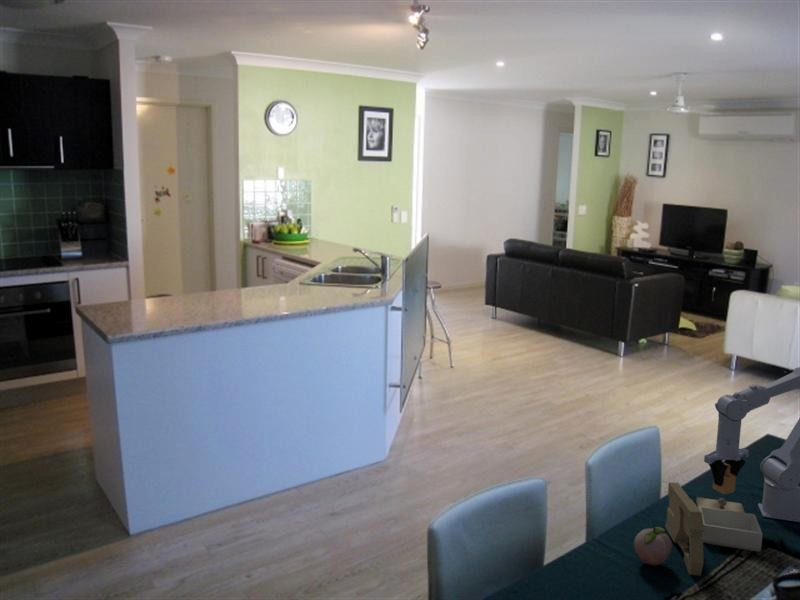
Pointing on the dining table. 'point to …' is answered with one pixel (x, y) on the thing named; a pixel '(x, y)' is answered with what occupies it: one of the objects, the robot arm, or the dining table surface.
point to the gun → (685, 527)
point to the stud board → (715, 505)
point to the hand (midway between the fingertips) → (724, 483)
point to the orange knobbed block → (726, 482)
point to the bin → (731, 529)
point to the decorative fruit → (653, 545)
